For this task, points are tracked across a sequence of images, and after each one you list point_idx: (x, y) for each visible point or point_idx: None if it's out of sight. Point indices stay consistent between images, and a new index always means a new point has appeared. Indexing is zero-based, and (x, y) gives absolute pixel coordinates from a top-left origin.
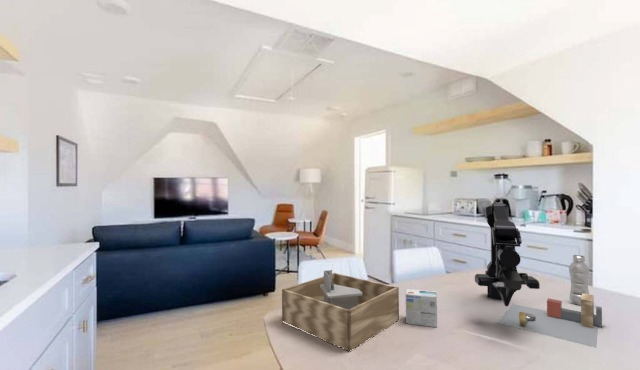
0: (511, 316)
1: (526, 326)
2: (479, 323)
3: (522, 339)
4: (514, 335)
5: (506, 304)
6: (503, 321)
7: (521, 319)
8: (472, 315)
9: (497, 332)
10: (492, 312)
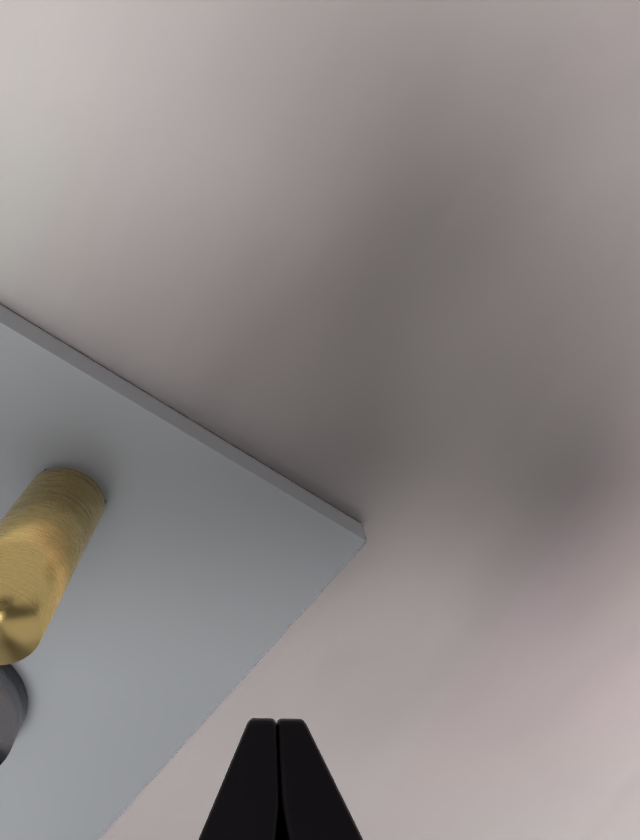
0: (112, 718)
1: (25, 476)
2: (550, 541)
3: (231, 107)
4: (288, 241)
5: (288, 751)
6: (271, 584)
7: (60, 526)
8: (510, 710)
9: (474, 317)
10: None
